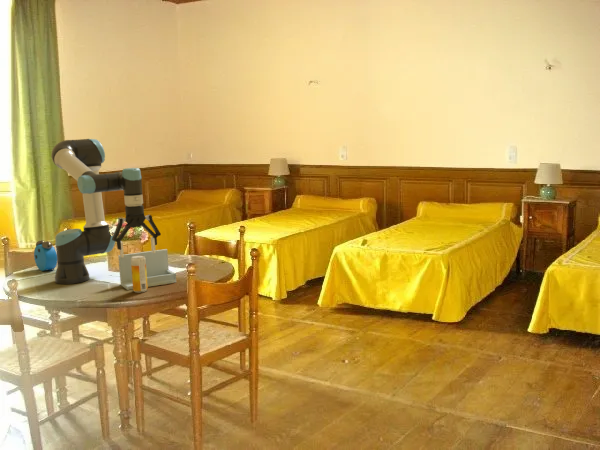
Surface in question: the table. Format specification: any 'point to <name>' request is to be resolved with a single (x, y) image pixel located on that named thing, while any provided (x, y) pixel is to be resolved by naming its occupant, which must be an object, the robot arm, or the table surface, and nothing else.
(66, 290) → the table surface
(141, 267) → the beer can
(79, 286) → the table surface
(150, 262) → the stand
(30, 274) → the table surface
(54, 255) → the alarm clock
